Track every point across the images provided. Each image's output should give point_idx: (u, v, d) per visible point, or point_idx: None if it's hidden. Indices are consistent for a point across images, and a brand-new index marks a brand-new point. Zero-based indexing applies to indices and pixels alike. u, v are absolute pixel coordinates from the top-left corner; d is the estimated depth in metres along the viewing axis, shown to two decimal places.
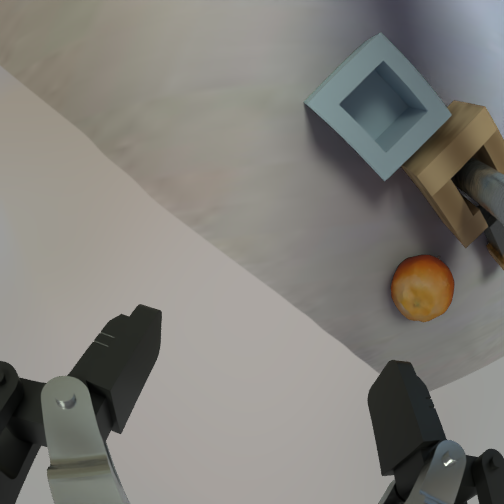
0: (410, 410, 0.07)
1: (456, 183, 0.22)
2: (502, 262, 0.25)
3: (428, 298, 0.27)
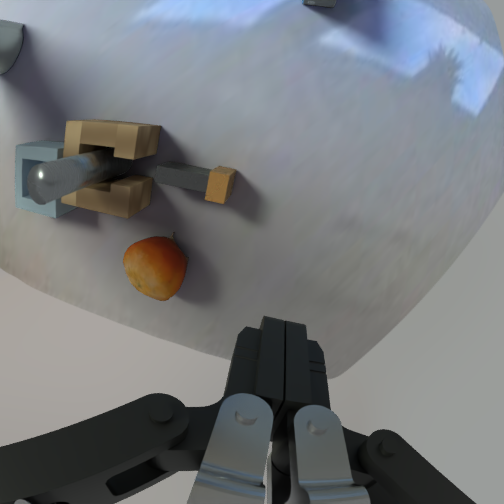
0: (284, 368, 0.08)
1: None
2: None
3: (137, 275, 0.32)
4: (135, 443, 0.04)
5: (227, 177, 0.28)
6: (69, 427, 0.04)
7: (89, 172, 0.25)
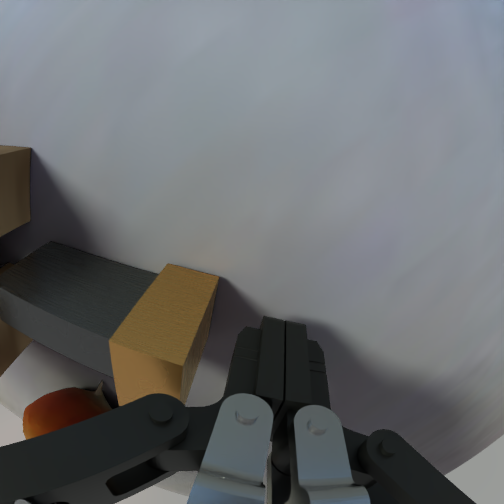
0: (284, 368, 0.08)
1: None
2: None
3: None
4: (135, 443, 0.04)
5: (174, 368, 0.07)
6: (69, 427, 0.04)
7: None
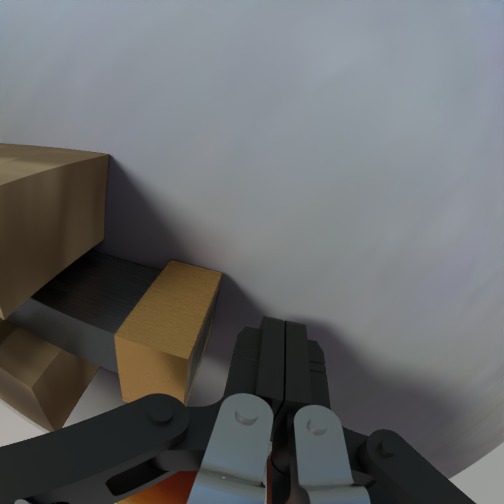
0: (284, 368, 0.08)
1: None
2: None
3: None
4: (135, 443, 0.04)
5: (179, 362, 0.07)
6: (69, 427, 0.04)
7: None
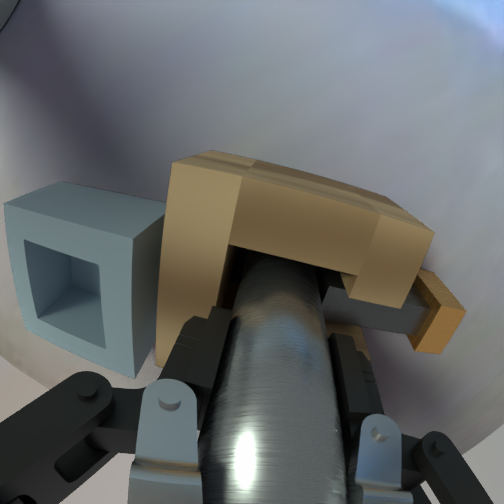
0: (342, 380, 0.08)
1: None
2: (413, 344, 0.14)
3: None
4: (69, 421, 0.04)
5: (462, 313, 0.12)
6: (11, 417, 0.04)
7: None
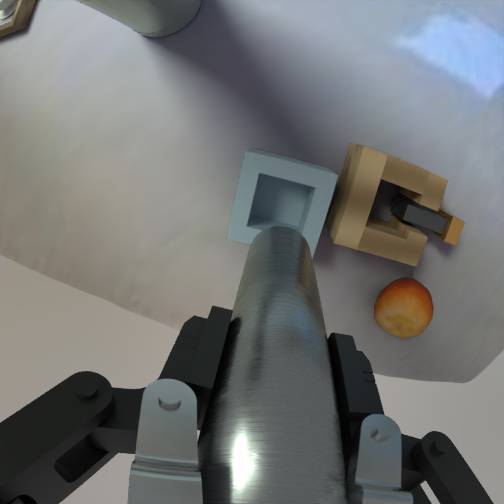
0: (341, 380, 0.08)
1: None
2: (443, 238, 0.28)
3: (405, 319, 0.30)
4: (69, 421, 0.04)
5: (463, 223, 0.27)
6: (11, 417, 0.04)
7: None
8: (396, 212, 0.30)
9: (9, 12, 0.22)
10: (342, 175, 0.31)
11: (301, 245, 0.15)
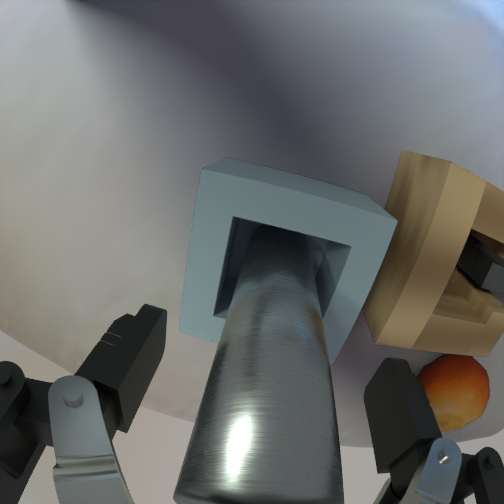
0: (405, 407, 0.07)
1: None
2: None
3: (454, 418, 0.16)
4: None
5: None
6: None
7: None
8: (466, 269, 0.16)
9: None
10: (389, 208, 0.17)
11: (298, 237, 0.16)
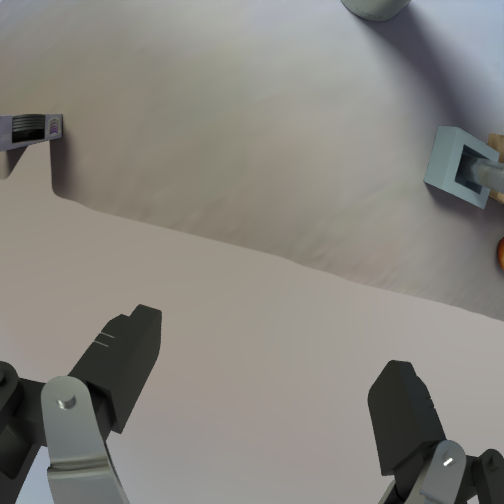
0: (410, 410, 0.07)
1: (466, 179, 0.31)
2: None
3: None
4: None
5: None
6: None
7: None
8: None
9: None
10: None
11: None
